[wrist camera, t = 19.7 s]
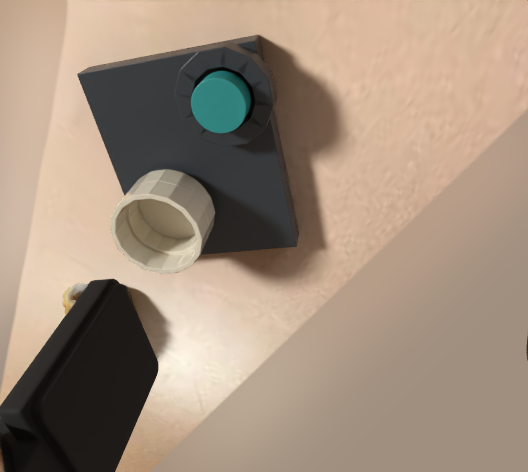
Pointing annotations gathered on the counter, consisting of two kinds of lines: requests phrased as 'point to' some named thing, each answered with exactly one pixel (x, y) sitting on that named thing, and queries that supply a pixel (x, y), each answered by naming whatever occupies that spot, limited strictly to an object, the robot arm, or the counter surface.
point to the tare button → (221, 102)
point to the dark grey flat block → (200, 138)
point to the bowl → (163, 221)
